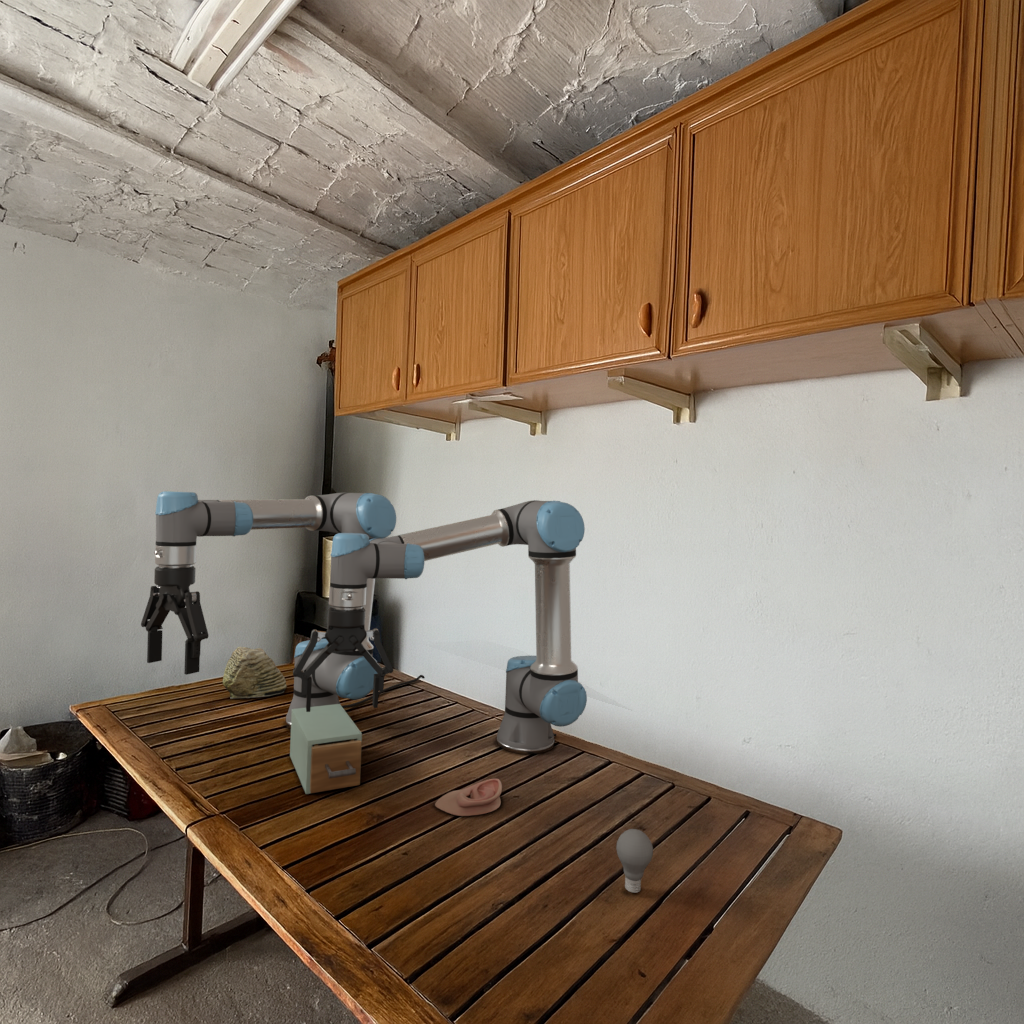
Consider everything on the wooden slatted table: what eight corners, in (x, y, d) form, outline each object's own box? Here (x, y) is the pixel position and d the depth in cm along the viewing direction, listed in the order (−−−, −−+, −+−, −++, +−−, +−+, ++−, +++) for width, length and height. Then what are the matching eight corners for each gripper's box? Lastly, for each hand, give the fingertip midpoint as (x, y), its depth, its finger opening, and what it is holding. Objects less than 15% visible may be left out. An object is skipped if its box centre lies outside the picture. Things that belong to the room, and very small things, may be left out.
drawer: (366, 796, 133) (368, 751, 133) (315, 805, 128) (317, 758, 128) (338, 750, 156) (340, 712, 156) (294, 756, 151) (296, 717, 151)
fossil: (218, 695, 195) (220, 647, 195) (278, 685, 208) (279, 640, 207) (228, 703, 189) (230, 653, 188) (289, 692, 201) (290, 645, 201)
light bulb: (610, 879, 108) (613, 822, 108) (644, 879, 109) (647, 822, 109) (619, 902, 102) (622, 840, 102) (655, 901, 103) (658, 840, 103)
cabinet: (360, 784, 140) (362, 733, 140) (305, 794, 135) (307, 740, 134) (338, 749, 159) (339, 703, 159) (289, 755, 154) (291, 709, 153)
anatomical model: (430, 792, 129) (447, 769, 140) (429, 811, 129) (446, 787, 140) (494, 801, 126) (506, 777, 137) (493, 821, 126) (505, 795, 138)
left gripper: (124, 561, 135) (121, 660, 135) (193, 572, 122) (190, 682, 122) (159, 559, 141) (157, 653, 142) (229, 569, 128) (225, 673, 129)
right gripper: (283, 610, 125) (278, 717, 125) (409, 609, 133) (404, 710, 133) (284, 604, 132) (279, 705, 132) (403, 603, 140) (398, 699, 141)
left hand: (172, 667), depth 132 cm, fingers open, 13 cm apart
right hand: (342, 707), depth 133 cm, fingers open, 13 cm apart
